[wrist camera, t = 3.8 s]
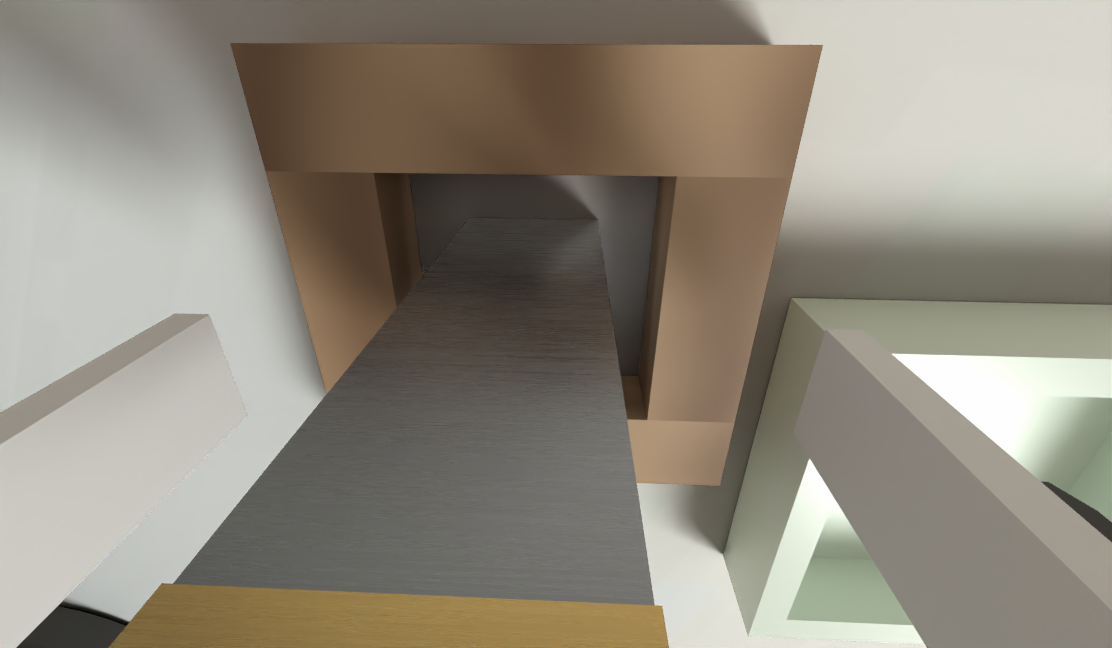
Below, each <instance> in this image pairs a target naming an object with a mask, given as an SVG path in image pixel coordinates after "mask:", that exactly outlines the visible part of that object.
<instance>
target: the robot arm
mask: <svg viewBox="0 0 1112 648" xmlns="http://www.w3.org/2000/svg"><path fill="white" fill-rule="evenodd" d="M247 416H248V415H247V412H246V410H245V407H244V404H243V402H242V399H241V397H240V394H239V391H238V389H237V386H236V383H235V381H234V378H233V376H232V373H231V370H230V368H229V365H228V362H227V360H226V357H225V355H224V352H223V349H222V347H221V344H220V341H219V339H218V336H217V334H216V331H215V328H214V326H213V323H212V320H211V318H210V315H209V314H173V315H172V316H170V317H168V318H166V319H165V320H163V321H161V322H159V323H157V324H156V325H154V326H152V327H150V328H149V329H147V330H145V331H143V332H142V333H140V334H138V335H136V336H135V337H133V338H131V339H129V340H128V341H126V342H124V343H122V344H121V345H119V346H117V347H115V348H113V349H112V350H110V351H108V352H106V353H105V354H103V355H101V356H99V357H98V358H96V359H94V360H92V361H91V362H89V363H87V364H85V365H84V366H82V367H80V368H78V369H77V370H75V371H73V372H71V373H69V374H68V375H66V376H64V377H62V378H61V379H59V380H57V381H55V382H54V383H52V384H50V385H48V386H47V387H45V388H43V389H41V390H40V391H38V392H36V393H34V394H33V395H31V396H29V397H27V398H25V399H24V400H22V401H20V402H18V403H17V404H15V405H13V406H11V407H10V408H8V409H6V410H4V411H3V412H1V413H0V648H108V647H109V646H110V645H111V644H112V643H113V641H114V640H115V639H116V638H117V637H118V635H119V634H120V633H121V632H122V631H123V630H124V628H125V627H126V626H125V625H122V624H119V623H117V622H114V621H111V620H108V619H105V618H102V617H99V616H96V615H92V614H89V613H85V612H81V611H77V610H73V609H68V608H63V607H57V606H58V605H59V604H60V603H61V602H62V601H63V600H64V599H65V598H66V597H67V596H68V595H69V594H70V593H71V592H72V591H73V590H74V589H75V588H76V587H77V586H78V585H79V584H80V583H81V582H82V581H83V580H84V579H85V578H86V577H87V576H88V575H89V574H90V573H91V572H92V571H93V570H94V569H95V568H96V567H97V566H98V565H99V564H100V563H101V562H102V561H103V560H104V559H105V558H106V557H107V556H108V555H109V554H110V553H111V552H112V551H113V550H114V549H115V548H116V547H117V546H118V545H119V544H120V543H121V542H122V541H123V540H124V539H125V538H126V537H127V536H128V535H129V534H130V533H131V532H132V531H133V530H134V529H135V528H136V527H137V526H138V525H139V524H140V523H141V522H142V521H143V520H144V519H145V518H146V517H147V516H148V515H149V514H150V513H151V512H152V511H153V510H154V509H155V508H156V507H157V506H158V505H159V504H160V503H161V502H162V501H163V500H164V499H165V498H166V497H167V496H168V495H169V494H170V493H171V492H172V491H173V490H174V489H175V488H176V487H177V486H178V485H179V484H180V483H181V482H182V481H183V480H184V479H185V478H186V477H187V476H188V475H189V474H190V473H191V472H192V471H193V470H194V469H195V468H196V467H197V466H198V465H199V464H200V463H201V462H202V461H203V460H204V459H205V458H206V457H207V456H208V455H209V454H210V453H211V452H212V451H213V450H214V449H215V448H216V447H217V446H218V445H219V444H220V443H221V442H222V441H223V440H224V439H225V438H226V437H227V436H228V435H229V434H230V433H231V432H232V431H233V430H234V429H235V428H236V427H237V426H238V425H239V424H240V423H241V422H242V421H243V420H244V419H245V418H246V417H247ZM794 434H795V436H796V437H797V439H798V441H799V442H800V444H801V445H802V447H803V449H804V450H805V452H806V454H807V455H808V457H809V458H810V460H811V462H812V463H813V465H814V466H815V468H816V470H817V471H818V473H819V475H820V476H821V478H822V479H823V481H824V483H825V484H826V486H827V487H828V489H829V491H830V492H831V494H832V495H833V497H834V499H835V500H836V502H837V504H838V505H839V507H840V508H841V510H842V512H843V513H844V515H845V516H846V518H847V520H848V521H849V523H850V524H851V526H852V528H853V529H854V531H855V533H856V534H857V536H858V537H859V539H860V541H861V542H862V544H863V545H864V547H865V549H866V550H867V552H868V553H869V555H870V557H871V558H872V560H873V562H874V563H875V565H876V566H877V568H878V570H879V571H880V573H881V574H882V576H883V578H884V579H885V581H886V582H887V584H888V586H889V587H890V589H891V591H892V592H893V594H894V595H895V597H896V599H897V600H898V602H899V603H900V605H901V607H902V608H903V610H904V612H905V613H906V615H907V616H908V618H909V620H910V621H911V623H912V624H913V626H914V628H915V629H916V631H917V632H918V634H919V636H920V637H921V639H922V641H923V642H924V644H925V645H926V647H927V648H1112V522H1111V521H1109V520H1108V519H1107V518H1106V517H1105V516H1103V515H1102V514H1101V513H1100V512H1098V511H1097V510H1095V509H1094V508H1092V507H1090V506H1089V505H1087V504H1085V503H1083V502H1082V501H1080V500H1078V499H1077V498H1075V497H1073V496H1072V495H1070V494H1068V493H1066V492H1065V491H1063V490H1061V489H1060V488H1058V487H1056V486H1055V485H1053V484H1051V483H1049V482H1041V481H1039V480H1038V479H1037V478H1036V477H1035V476H1034V475H1032V474H1031V473H1030V472H1029V471H1028V470H1027V469H1025V468H1024V467H1023V466H1022V465H1021V464H1020V463H1018V462H1017V461H1016V460H1015V459H1014V458H1013V457H1011V456H1010V455H1009V454H1008V453H1007V452H1006V451H1004V450H1003V449H1002V448H1001V447H1000V446H999V445H997V444H996V443H995V442H994V441H993V440H992V439H990V438H989V437H988V436H987V435H986V434H985V433H983V432H982V431H981V430H980V429H979V428H978V427H976V426H975V425H974V424H973V423H972V422H971V421H969V420H968V419H967V418H966V417H965V416H964V415H962V414H961V413H960V412H959V411H958V410H957V409H955V408H954V407H953V406H952V405H951V404H950V403H948V402H947V401H946V400H945V399H944V398H943V397H941V396H940V395H939V394H938V393H937V392H936V391H934V390H933V389H932V388H931V387H930V386H929V385H927V384H926V383H925V382H924V381H923V380H922V379H920V378H919V377H918V376H917V375H916V374H915V373H913V372H912V371H911V370H910V369H909V368H908V367H906V366H905V365H904V364H903V363H902V362H901V361H899V360H898V359H897V358H896V357H895V356H894V355H892V354H891V353H890V352H889V351H888V350H887V349H885V348H884V347H883V346H882V345H881V344H880V343H878V342H877V341H876V340H875V339H874V338H873V337H871V336H870V335H869V334H868V333H867V332H866V331H864V330H847V329H826V330H825V333H824V337H823V340H822V343H821V346H820V349H819V353H818V356H817V359H816V362H815V365H814V369H813V372H812V375H811V378H810V381H809V385H808V388H807V391H806V394H805V397H804V401H803V404H802V407H801V410H800V414H799V417H798V420H797V423H796V426H795V430H794Z"/></svg>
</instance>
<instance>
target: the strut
mask: <svg viewBox="0 0 1112 648" xmlns="http://www.w3.org/2000/svg"><path fill="white" fill-rule="evenodd" d="M108 648H669V646H668V639H667V633H666V627H665V621H664V615H663V609H662V606H655V605H654V599H653V592H652V585H651V578H650V572H649V565H648V558H647V551H646V544H645V538H644V531H643V524H642V517H641V510H640V504H639V497H638V490H637V483H636V477H635V470H634V463H633V456H632V449H631V443H630V436H629V429H628V422H627V415H626V409H625V402H624V395H623V388H622V382H621V375H620V368H619V361H618V354H617V348H616V341H615V334H614V327H613V321H612V314H611V307H610V300H609V293H608V287H607V280H606V273H605V266H604V259H603V253H602V246H601V239H600V232H599V226H598V220H587V219H524V218H469V219H468V221H467V222H466V223H465V224H464V226H463V227H462V228H461V229H460V231H459V232H458V233H457V234H456V235H455V237H454V238H453V239H452V240H451V242H450V243H449V244H448V245H447V247H446V248H445V249H444V250H443V251H442V253H441V254H440V255H439V256H438V258H437V259H436V260H435V261H434V263H433V264H432V265H431V266H430V268H429V269H428V270H427V271H426V272H425V274H424V275H423V276H422V277H421V279H420V280H419V281H418V282H417V284H416V285H415V286H414V287H413V288H412V290H411V291H410V292H409V293H408V295H407V296H406V297H405V298H404V300H403V301H402V302H401V303H400V305H399V306H398V307H397V308H396V309H395V311H394V312H393V313H392V314H391V316H390V317H389V318H388V319H387V321H386V322H385V323H384V324H383V325H382V327H381V328H380V329H379V330H378V332H377V333H376V334H375V335H374V337H373V338H372V339H371V340H370V342H369V343H368V344H367V345H366V346H365V348H364V349H363V350H362V351H361V353H360V354H359V355H358V356H357V358H356V359H355V360H354V361H353V362H352V364H351V365H350V366H349V367H348V369H347V370H346V371H345V372H344V374H343V375H342V376H341V377H340V379H339V380H338V381H337V382H336V383H335V385H334V386H333V387H332V388H331V390H330V391H329V392H328V393H327V395H326V396H325V397H324V398H323V399H322V401H321V402H320V403H319V404H318V406H317V407H316V408H315V409H314V411H313V412H312V413H311V414H310V416H309V417H308V418H307V419H306V420H305V422H304V423H303V424H302V425H301V427H300V428H299V429H298V430H297V432H296V433H295V434H294V435H293V437H292V438H291V439H290V440H289V441H288V443H287V444H286V445H285V446H284V448H283V449H282V450H281V451H280V453H279V454H278V455H277V456H276V457H275V459H274V460H273V461H272V462H271V464H270V465H269V466H268V467H267V469H266V470H265V471H264V472H263V474H262V475H261V476H260V477H259V478H258V480H257V481H256V482H255V483H254V485H253V486H252V487H251V488H250V490H249V491H248V492H247V493H246V494H245V496H244V497H243V498H242V499H241V501H240V502H239V503H238V504H237V506H236V507H235V508H234V509H233V511H232V512H231V513H230V514H229V515H228V517H227V518H226V519H225V520H224V522H223V523H222V524H221V525H220V527H219V528H218V529H217V530H216V531H215V533H214V534H213V535H212V536H211V538H210V539H209V540H208V541H207V543H206V544H205V545H204V546H203V548H202V549H201V550H200V551H199V552H198V554H197V555H196V556H195V557H194V559H193V560H192V561H191V562H190V564H189V565H188V566H187V567H186V568H185V570H184V571H183V572H182V573H181V575H180V576H179V577H178V578H177V580H176V581H175V582H174V583H173V584H163V583H162V584H161V585H160V586H159V588H158V589H157V590H156V591H155V592H154V594H153V595H152V596H151V597H150V598H149V600H148V601H147V602H146V603H145V604H144V606H143V607H142V608H141V609H140V610H139V612H138V613H137V614H136V615H135V616H134V618H133V619H132V620H131V621H130V622H129V624H128V625H127V626H126V627H125V628H124V630H123V631H122V632H121V633H120V634H119V635H118V637H117V638H116V639H115V640H114V641H113V643H112V644H111V645H110V646H109V647H108Z"/></svg>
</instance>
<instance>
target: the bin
mask: <svg viewBox="0 0 1112 648" xmlns="http://www.w3.org/2000/svg"><path fill="white" fill-rule="evenodd" d="M826 329H847V330H864V331H866V332H867V333H868V334H869V335H870V336H871V337H873V338H874V339H875V340H876V341H877V342H878V343H880V344H881V345H882V346H883V347H884V348H885V349H887V350H888V351H889V352H890V353H891V354H892V355H894V356H895V357H896V358H897V359H898V360H899V361H901V362H902V363H903V364H904V365H905V366H906V367H908V368H909V369H910V370H911V371H912V372H913V373H915V374H916V375H917V376H918V377H919V378H920V379H922V380H923V381H924V382H925V383H926V384H927V385H929V386H930V387H931V388H932V389H933V390H934V391H936V392H937V393H938V394H939V395H940V396H941V397H943V398H944V399H945V400H946V401H947V402H948V403H950V404H951V405H952V406H953V407H954V408H955V409H957V410H958V411H959V412H960V413H961V414H962V415H964V416H965V417H966V418H967V419H968V420H969V421H971V422H972V423H973V424H974V425H975V426H976V427H978V428H979V429H980V430H981V431H982V432H983V433H985V434H986V435H987V436H988V437H989V438H990V439H992V440H993V441H994V442H995V443H996V444H997V445H999V446H1000V447H1001V448H1002V449H1003V450H1004V451H1006V452H1007V453H1008V454H1009V455H1010V456H1011V457H1013V458H1014V459H1015V460H1016V461H1017V462H1018V463H1020V464H1021V465H1022V466H1023V467H1024V468H1025V469H1027V470H1028V471H1029V472H1030V473H1031V474H1032V475H1034V476H1035V477H1036V478H1037V479H1038V480H1039V481H1041V482H1049V483H1051V484H1053V485H1055V486H1056V487H1058V488H1060V489H1061V490H1063V491H1065V492H1066V493H1068V494H1070V495H1072V496H1073V497H1075V498H1077V499H1078V500H1080V501H1082V502H1083V503H1085V504H1087V505H1089V506H1090V507H1092V508H1094V509H1095V510H1097V511H1098V512H1100V513H1101V514H1102V515H1103V516H1105V517H1106V518H1107V519H1108V520H1109V521H1111V522H1112V305H1095V304H1049V303H1002V302H955V301H909V300H862V299H815V298H791V300H790V304H789V308H788V312H787V316H786V319H785V323H784V327H783V331H782V335H781V338H780V342H779V346H778V350H777V354H776V357H775V361H774V365H773V369H772V373H771V376H770V380H769V384H768V388H767V392H766V395H765V399H764V403H763V407H762V411H761V414H760V418H759V422H758V426H757V430H756V433H755V437H754V441H753V445H752V449H751V452H750V456H749V460H748V464H747V468H746V471H745V475H744V479H743V483H742V487H741V490H740V494H739V498H738V502H737V506H736V509H735V513H734V517H733V521H732V525H731V528H730V532H729V536H728V540H727V544H726V547H725V551H724V555H723V556H724V560H725V563H726V566H727V569H728V572H729V576H730V579H731V582H732V585H733V589H734V592H735V595H736V598H737V602H738V605H739V608H740V611H741V615H742V618H743V621H744V624H745V627H746V631H747V634H748V636H751V637H773V638H794V639H816V640H837V641H859V642H880V643H902V644H923V645H925V644H924V642H923V641H922V639H921V637H920V636H919V634H918V632H917V631H916V629H915V628H914V626H913V624H912V623H911V621H910V620H909V618H908V616H907V615H906V613H905V612H904V610H903V608H902V607H901V605H900V603H899V602H898V600H897V599H896V597H895V595H894V594H893V592H892V591H891V589H890V587H889V586H888V584H887V582H886V581H885V579H884V578H883V576H882V574H881V573H880V571H879V570H878V568H877V566H876V565H875V563H874V562H873V560H872V558H871V557H870V555H869V553H868V552H867V550H866V549H865V547H864V545H863V544H862V542H861V541H860V539H859V537H858V536H857V534H856V533H855V531H854V529H853V528H852V526H851V524H850V523H849V521H848V520H847V518H846V516H845V515H844V513H843V512H842V510H841V508H840V507H839V505H838V504H837V502H836V500H835V499H834V497H833V495H832V494H831V492H830V491H829V489H828V487H827V486H826V484H825V483H824V481H823V479H822V478H821V476H820V475H819V473H818V471H817V470H816V468H815V466H814V465H813V463H812V462H811V460H810V458H809V457H808V455H807V454H806V452H805V450H804V449H803V447H802V445H801V444H800V442H799V441H798V439H797V437H796V436H795V434H794V430H795V426H796V423H797V420H798V417H799V414H800V410H801V407H802V404H803V401H804V397H805V394H806V391H807V388H808V385H809V381H810V378H811V375H812V372H813V369H814V365H815V362H816V359H817V356H818V353H819V349H820V346H821V343H822V340H823V337H824V333H825V330H826Z"/></svg>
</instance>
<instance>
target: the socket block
mask: <svg viewBox="0 0 1112 648" xmlns="http://www.w3.org/2000/svg"><path fill="white" fill-rule="evenodd" d="M822 46H823V45H615V44H249V43H231V47H232V50H233V54H234V58H235V61H236V65H237V69H238V72H239V76H240V80H241V83H242V87H243V90H244V94H245V98H246V101H247V105H248V109H249V112H250V116H251V120H252V123H253V127H254V131H255V134H256V138H257V141H258V145H259V149H260V152H261V156H262V160H263V163H264V167H265V171H266V174H267V178H268V182H269V185H270V189H271V192H272V196H273V200H274V203H275V207H276V211H277V214H278V218H279V222H280V225H281V229H282V233H283V236H284V240H285V243H286V247H287V251H288V254H289V258H290V262H291V265H292V269H293V273H294V276H295V280H296V284H297V287H298V291H299V295H300V298H301V302H302V305H303V309H304V313H305V316H306V320H307V324H308V327H309V331H310V335H311V338H312V342H313V346H314V349H315V353H316V356H317V360H318V364H319V367H320V371H321V375H322V378H323V382H324V386H325V389H326V393H328V392H329V391H330V390H331V388H332V387H333V386H334V385H335V383H336V382H337V381H338V380H339V379H340V377H341V376H342V375H343V374H344V372H345V371H346V370H347V369H348V367H349V366H350V365H351V364H352V362H353V361H354V360H355V359H356V358H357V356H358V355H359V354H360V353H361V351H362V350H363V349H364V348H365V346H366V345H367V344H368V343H369V342H370V340H371V339H372V338H373V337H374V335H375V334H376V333H377V332H378V330H379V329H380V328H381V327H382V325H383V324H384V323H385V322H386V321H387V319H388V318H389V317H390V316H391V314H392V313H393V312H394V311H395V309H396V308H397V307H398V306H399V305H400V303H401V302H402V301H403V300H404V298H405V297H406V296H407V295H408V293H409V292H410V291H411V290H412V288H413V287H414V286H415V285H416V284H417V282H418V281H419V280H420V279H421V277H422V276H423V275H422V267H421V260H420V253H419V245H418V238H417V231H416V223H415V216H414V209H413V202H412V194H411V187H410V180H409V173H441V174H520V175H600V176H659V181H658V191H657V201H656V210H655V220H654V229H653V239H652V248H651V258H650V268H649V277H648V287H647V296H646V306H645V315H644V325H643V334H642V344H641V354H640V363H639V373H638V376H621V382H622V388H623V395H624V402H625V409H626V415H627V422H628V429H629V436H630V443H631V449H632V456H633V463H634V470H635V477H636V483H655V484H683V485H711V486H720V484H721V479H722V475H723V471H724V466H725V462H726V458H727V454H728V449H729V445H730V441H731V436H732V432H733V428H734V424H735V419H736V415H737V411H738V406H739V402H740V398H741V394H742V389H743V385H744V381H745V376H746V372H747V368H748V364H749V359H750V355H751V351H752V346H753V342H754V338H755V334H756V329H757V325H758V321H759V316H760V312H761V308H762V304H763V299H764V295H765V291H766V286H767V282H768V278H769V274H770V269H771V265H772V261H773V256H774V252H775V248H776V244H777V239H778V235H779V231H780V226H781V222H782V218H783V214H784V209H785V205H786V201H787V196H788V192H789V188H790V184H791V179H792V175H793V171H794V166H795V162H796V158H797V154H798V149H799V145H800V141H801V136H802V132H803V128H804V124H805V119H806V115H807V111H808V106H809V102H810V98H811V93H812V89H813V85H814V81H815V76H816V72H817V68H818V63H819V59H820V55H821V51H822Z"/></svg>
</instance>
